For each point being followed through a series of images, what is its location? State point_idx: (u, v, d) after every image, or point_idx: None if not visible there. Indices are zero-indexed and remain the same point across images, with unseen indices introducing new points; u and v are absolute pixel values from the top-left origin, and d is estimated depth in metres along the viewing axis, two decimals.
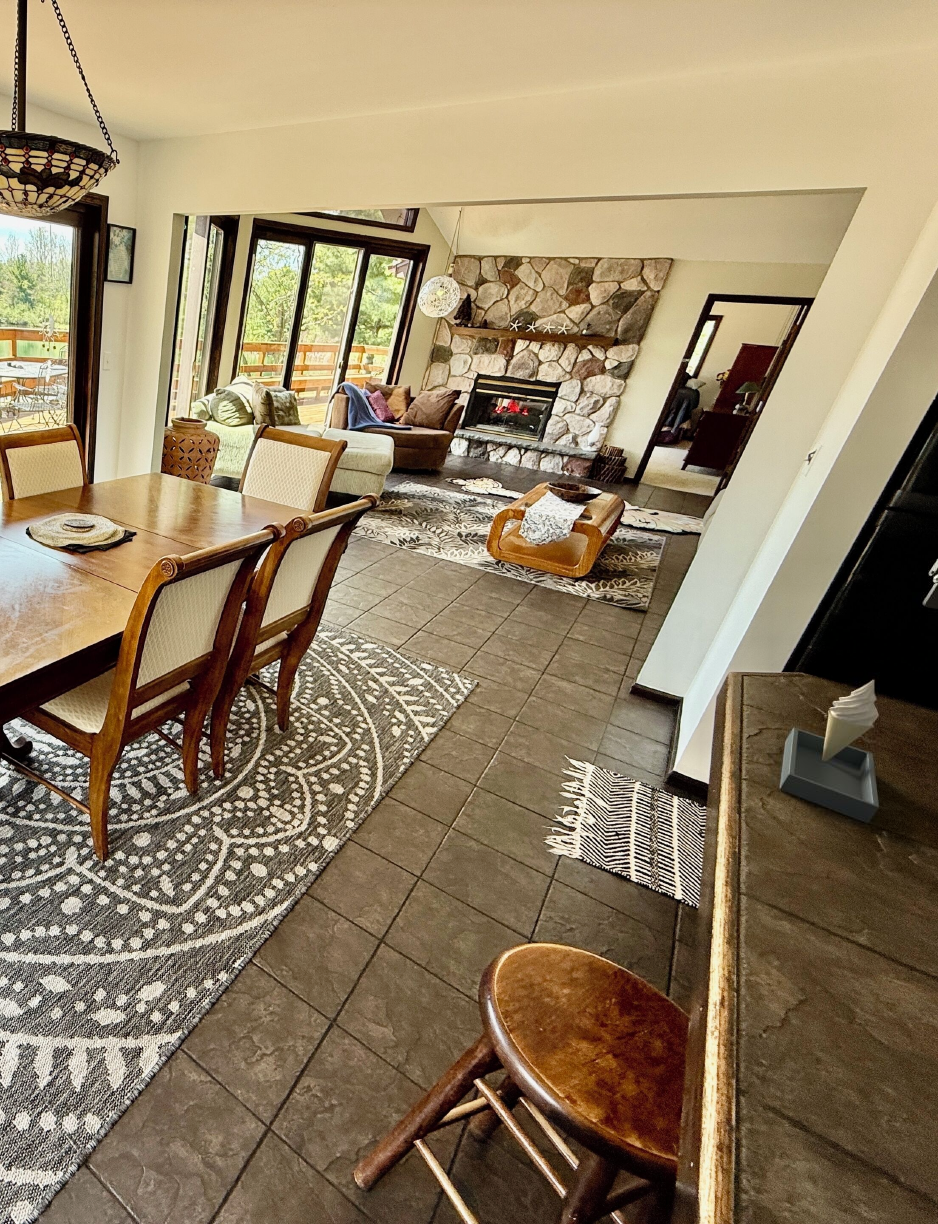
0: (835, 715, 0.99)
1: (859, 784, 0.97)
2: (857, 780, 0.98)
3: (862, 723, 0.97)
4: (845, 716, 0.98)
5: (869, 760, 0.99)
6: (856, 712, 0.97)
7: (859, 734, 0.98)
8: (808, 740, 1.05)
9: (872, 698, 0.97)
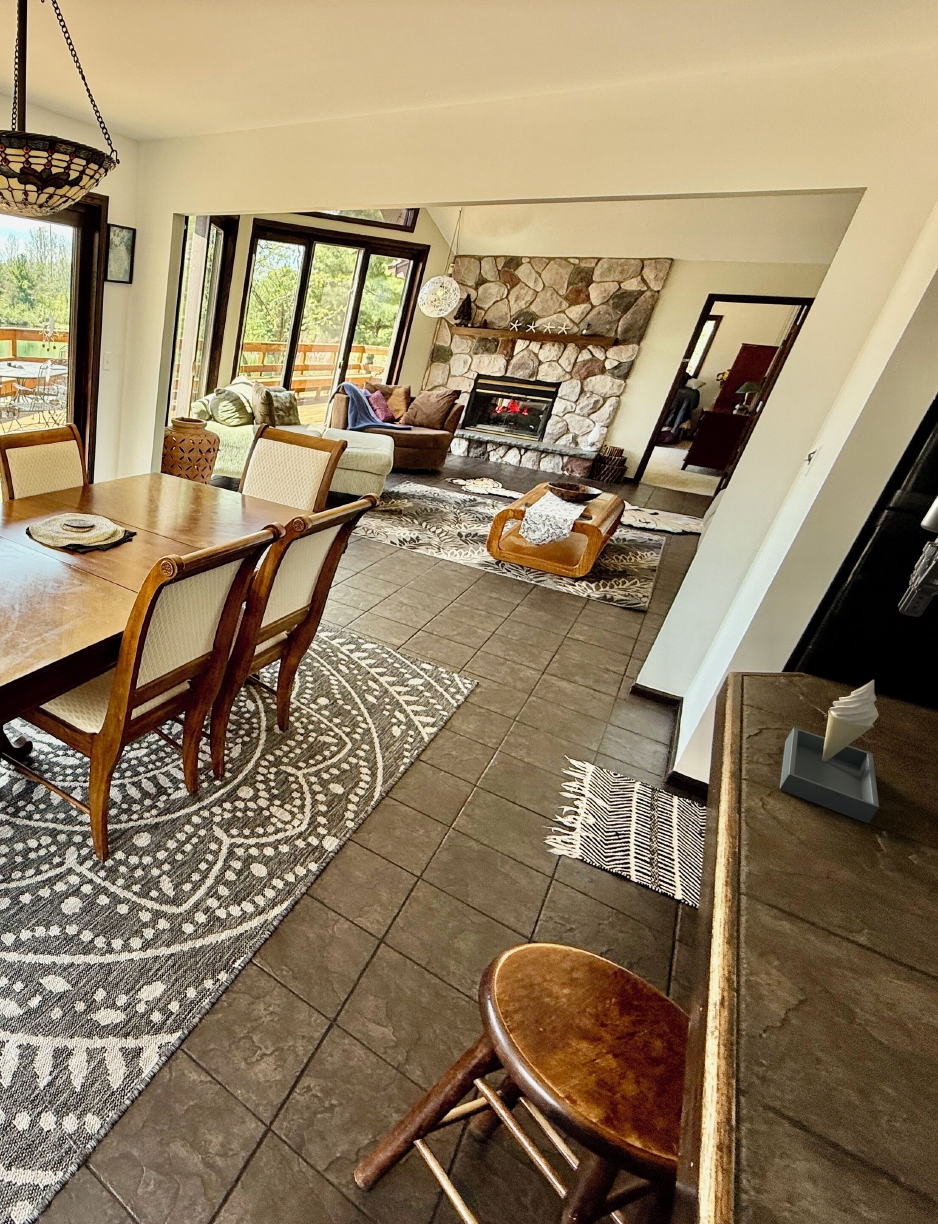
0: (835, 715, 0.99)
1: (859, 784, 0.97)
2: (857, 780, 0.98)
3: (862, 723, 0.97)
4: (845, 716, 0.98)
5: (869, 760, 0.99)
6: (856, 712, 0.97)
7: (859, 734, 0.98)
8: (808, 740, 1.05)
9: (872, 698, 0.97)
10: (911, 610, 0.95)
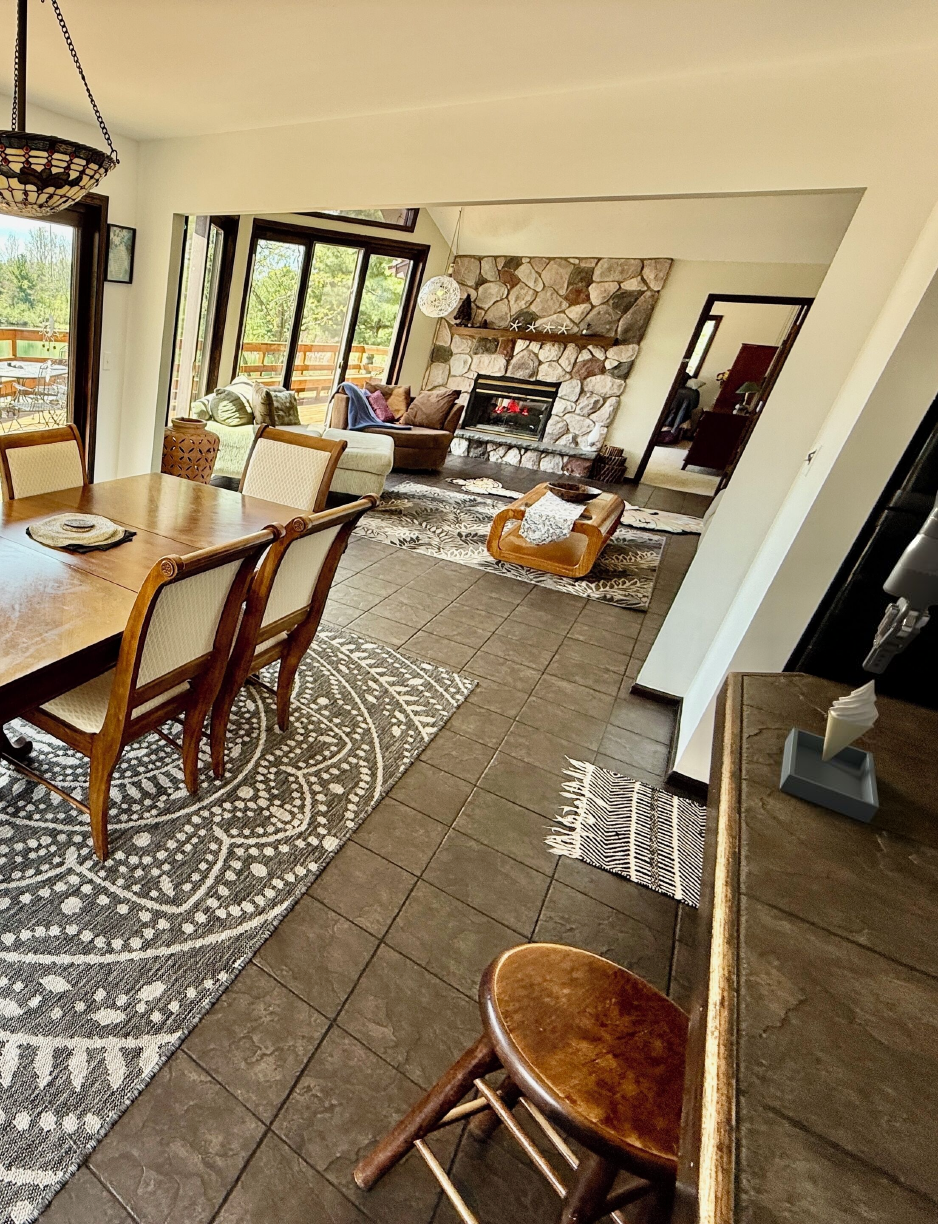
0: (835, 715, 0.99)
1: (859, 784, 0.97)
2: (857, 780, 0.98)
3: (862, 723, 0.97)
4: (845, 716, 0.98)
5: (869, 760, 0.99)
6: (856, 712, 0.97)
7: (859, 734, 0.98)
8: (808, 740, 1.05)
9: (872, 698, 0.97)
10: (874, 667, 1.00)
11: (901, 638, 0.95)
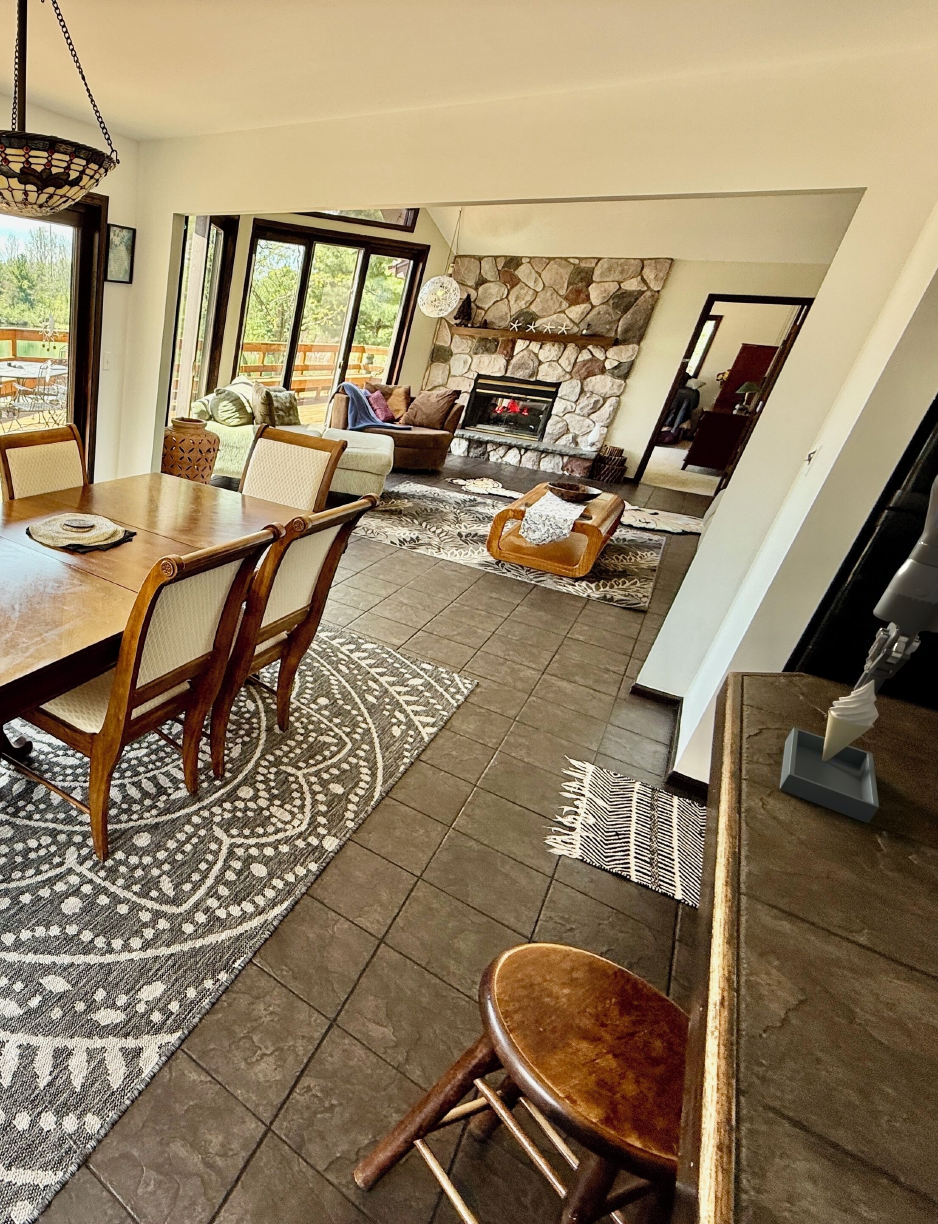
0: (835, 715, 0.99)
1: (859, 784, 0.97)
2: (857, 780, 0.98)
3: (862, 723, 0.97)
4: (845, 716, 0.98)
5: (869, 760, 0.99)
6: (856, 712, 0.97)
7: (859, 734, 0.98)
8: (808, 740, 1.05)
9: (872, 698, 0.97)
10: None
11: (891, 664, 0.94)
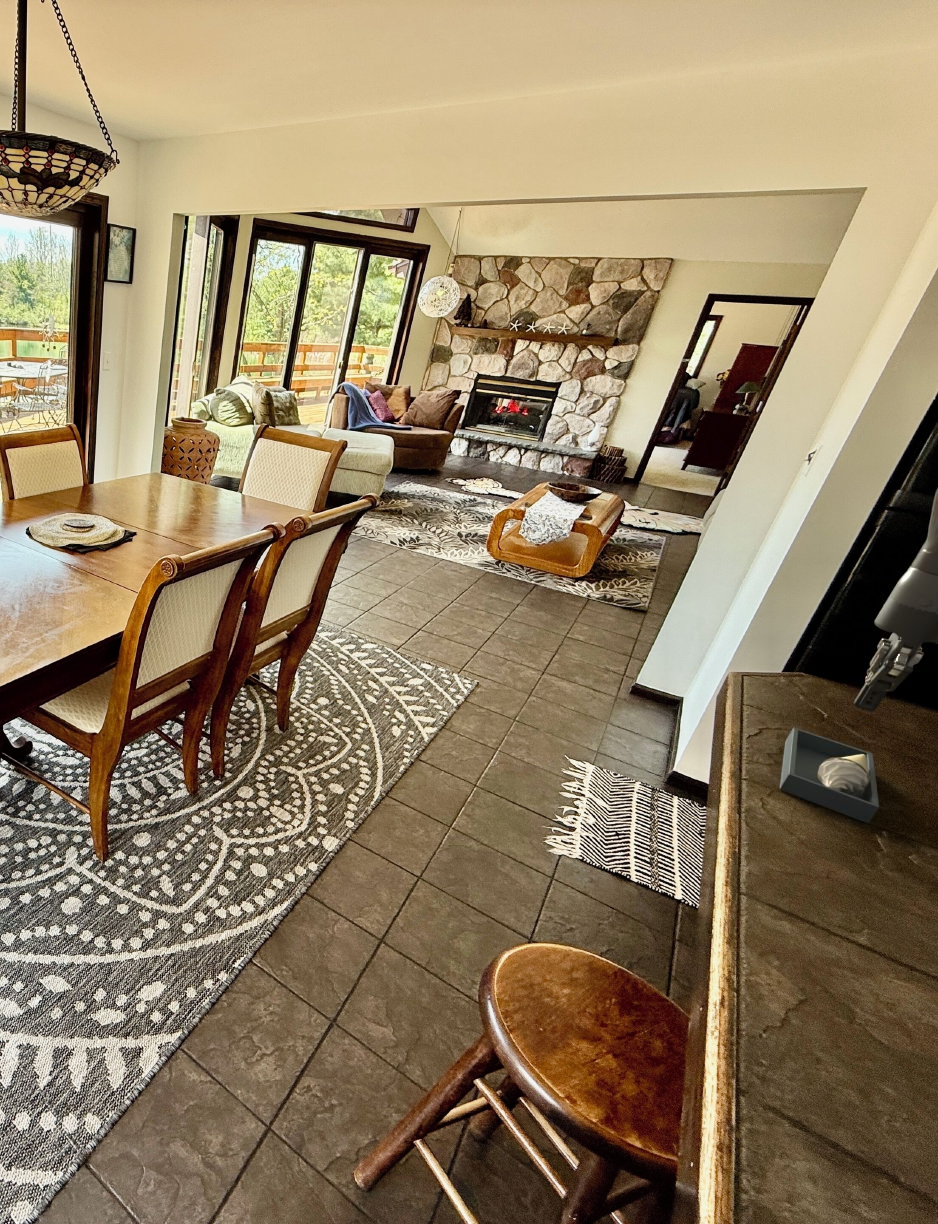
0: None
1: None
2: None
3: None
4: None
5: (869, 760, 0.99)
6: (819, 777, 0.96)
7: None
8: (808, 740, 1.05)
9: None
10: (865, 705, 0.95)
11: (893, 676, 0.90)
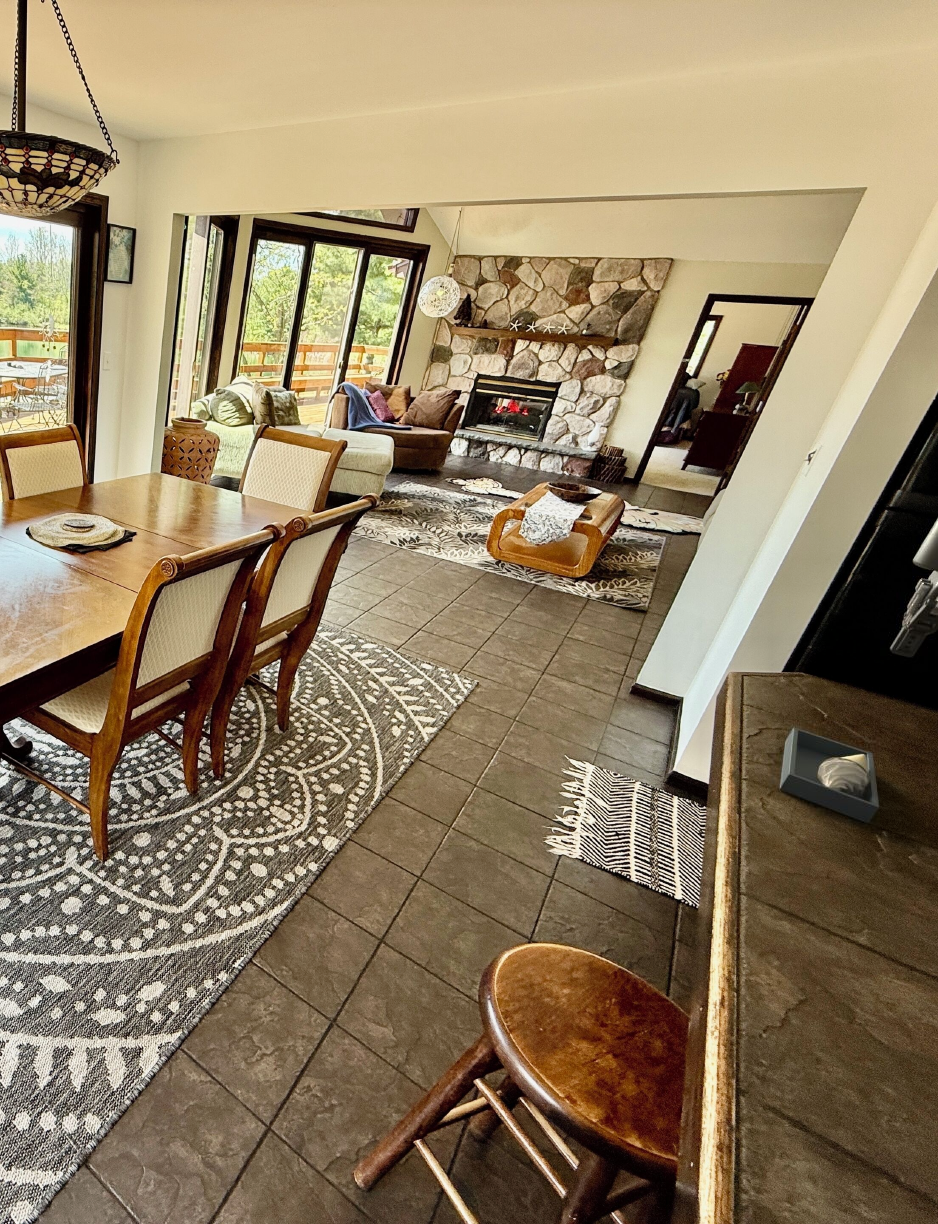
0: None
1: None
2: None
3: None
4: None
5: (869, 760, 0.99)
6: (819, 777, 0.96)
7: None
8: (808, 740, 1.05)
9: None
10: (903, 650, 0.90)
11: (935, 616, 0.85)
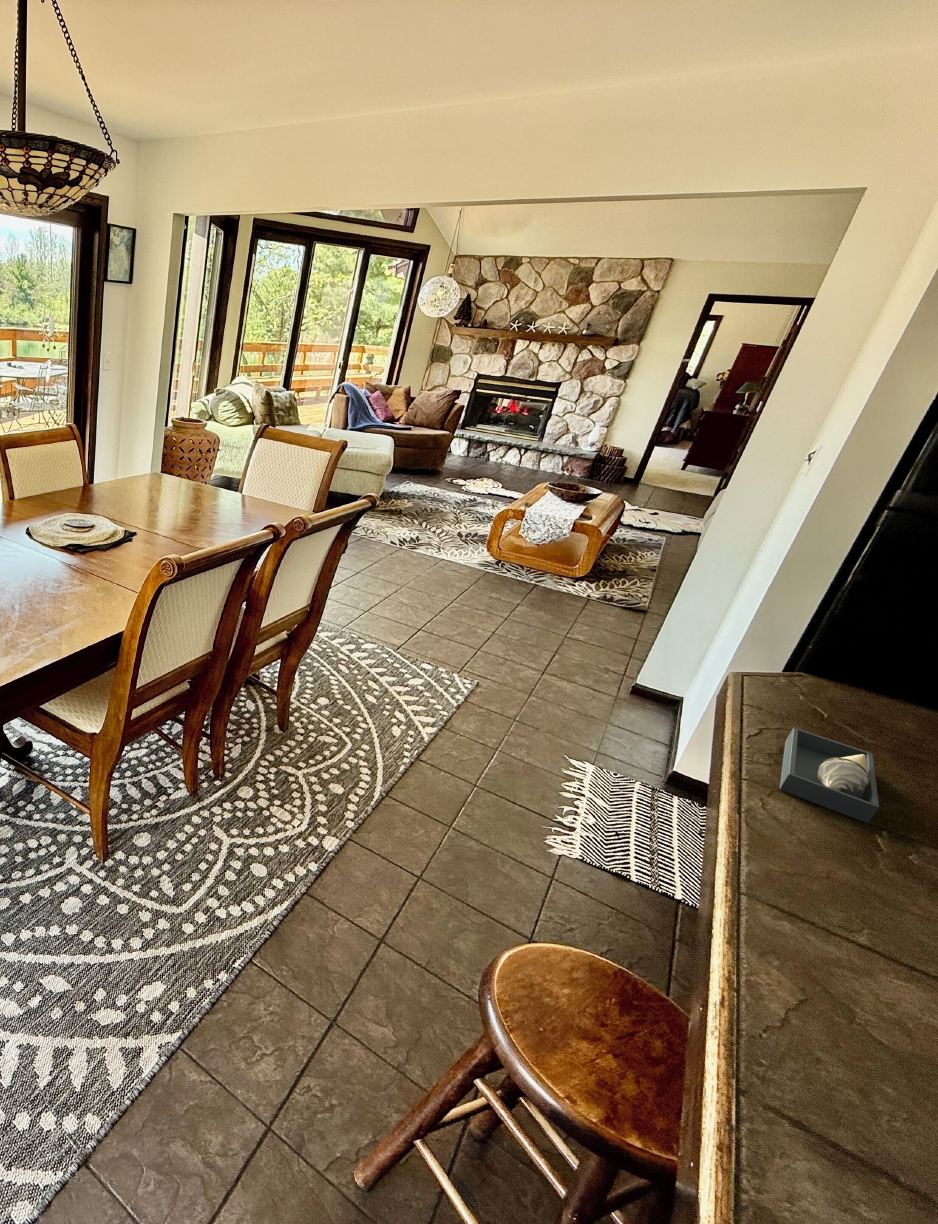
0: None
1: None
2: None
3: None
4: None
5: (869, 760, 0.99)
6: (819, 777, 0.96)
7: None
8: (808, 740, 1.05)
9: None
10: None
11: None
